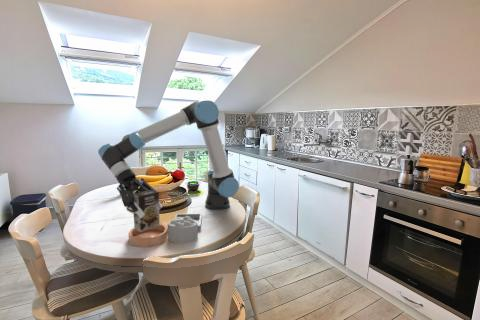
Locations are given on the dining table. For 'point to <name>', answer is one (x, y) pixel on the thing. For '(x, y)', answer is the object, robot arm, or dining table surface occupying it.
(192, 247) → the dining table surface
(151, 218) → the coffee box
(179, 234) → the lumpy-topped squat cylinder
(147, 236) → the bowl
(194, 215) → the parts tray
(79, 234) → the dining table surface
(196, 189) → the toy cauldron
